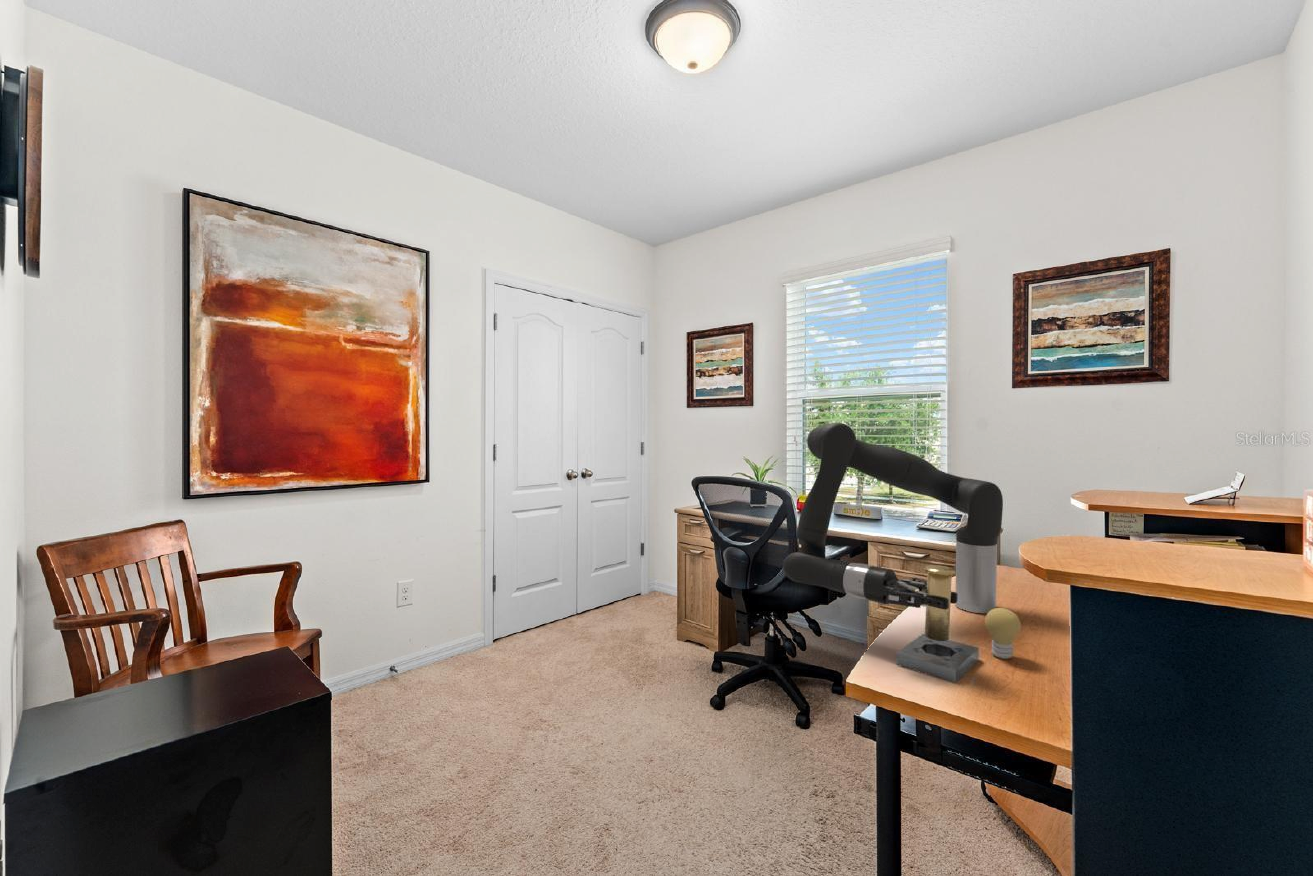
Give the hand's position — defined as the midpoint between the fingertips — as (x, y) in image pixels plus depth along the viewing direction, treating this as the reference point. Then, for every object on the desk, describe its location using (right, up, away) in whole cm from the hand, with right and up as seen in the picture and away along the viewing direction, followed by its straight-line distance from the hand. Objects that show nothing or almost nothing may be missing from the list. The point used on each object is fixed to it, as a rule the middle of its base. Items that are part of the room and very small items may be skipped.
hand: (952, 601), depth 113 cm
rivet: (-2, -8, +2) cm, 8 cm away
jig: (-2, -13, +3) cm, 14 cm away
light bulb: (+13, -13, +5) cm, 19 cm away
